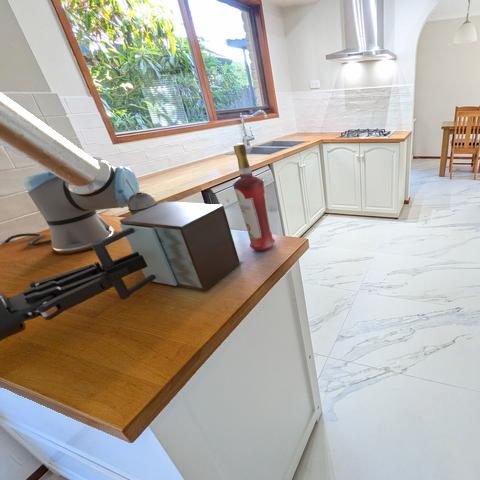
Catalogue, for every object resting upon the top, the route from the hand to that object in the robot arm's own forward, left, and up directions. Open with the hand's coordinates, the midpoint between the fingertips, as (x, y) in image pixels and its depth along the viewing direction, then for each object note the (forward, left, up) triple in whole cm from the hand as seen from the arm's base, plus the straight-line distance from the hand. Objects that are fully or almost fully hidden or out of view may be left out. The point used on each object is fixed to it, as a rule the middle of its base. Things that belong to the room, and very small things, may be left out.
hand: (142, 259), depth 62 cm
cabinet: (+3, +9, -9) cm, 12 cm away
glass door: (-1, -2, -8) cm, 8 cm away
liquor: (+13, +24, -9) cm, 28 cm away
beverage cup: (-23, +20, -9) cm, 32 cm away
